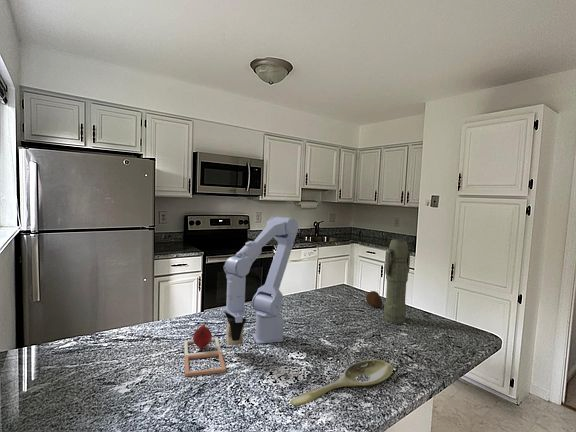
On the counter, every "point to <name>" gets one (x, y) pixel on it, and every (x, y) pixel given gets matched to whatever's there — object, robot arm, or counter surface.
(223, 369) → the terracotta frame
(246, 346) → the counter surface
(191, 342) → the cream frame
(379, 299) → the potato
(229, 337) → the birch block
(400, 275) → the thermos
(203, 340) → the onion
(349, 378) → the spoon
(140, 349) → the counter surface
